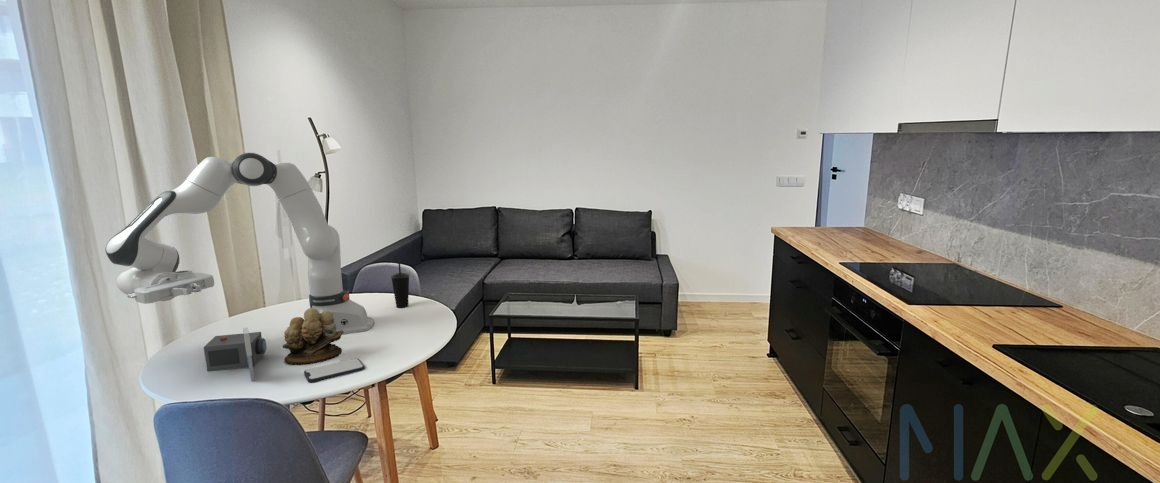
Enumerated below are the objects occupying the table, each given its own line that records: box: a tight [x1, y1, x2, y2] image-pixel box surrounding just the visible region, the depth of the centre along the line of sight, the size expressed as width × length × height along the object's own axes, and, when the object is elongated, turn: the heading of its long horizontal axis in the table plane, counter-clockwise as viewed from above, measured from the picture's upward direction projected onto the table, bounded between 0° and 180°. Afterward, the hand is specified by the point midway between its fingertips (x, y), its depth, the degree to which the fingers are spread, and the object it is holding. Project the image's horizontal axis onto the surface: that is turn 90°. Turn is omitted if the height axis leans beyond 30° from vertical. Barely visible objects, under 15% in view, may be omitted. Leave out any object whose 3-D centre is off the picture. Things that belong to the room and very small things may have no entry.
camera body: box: [203, 331, 267, 372], centre depth 165 cm, size 15×10×9 cm, turn 106°
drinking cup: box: [390, 260, 411, 309], centre depth 219 cm, size 8×8×20 cm
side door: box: [242, 327, 256, 382], centre depth 156 cm, size 12×1×15 cm, turn 36°
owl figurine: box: [282, 307, 344, 366], centre depth 168 cm, size 18×12×17 cm, turn 119°
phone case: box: [303, 358, 366, 384], centre depth 159 cm, size 9×2×16 cm
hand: (193, 290), depth 154 cm, fingers closed
